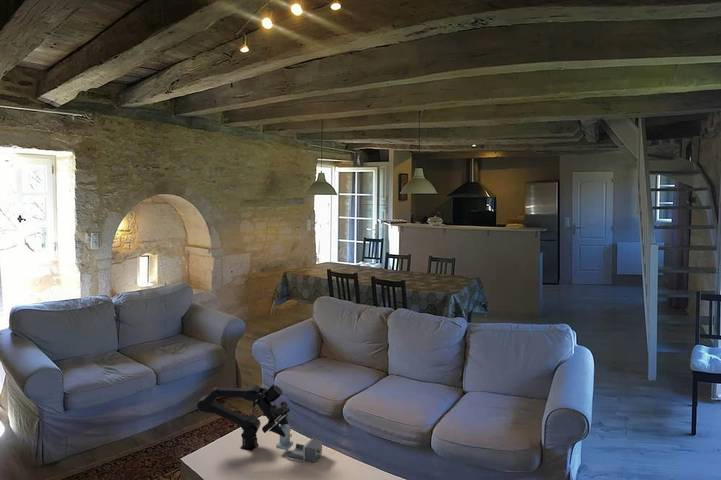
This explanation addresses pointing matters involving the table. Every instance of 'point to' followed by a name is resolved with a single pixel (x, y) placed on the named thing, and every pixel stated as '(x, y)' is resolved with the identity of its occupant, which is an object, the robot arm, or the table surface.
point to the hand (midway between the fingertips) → (287, 433)
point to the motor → (306, 451)
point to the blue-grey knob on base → (285, 438)
